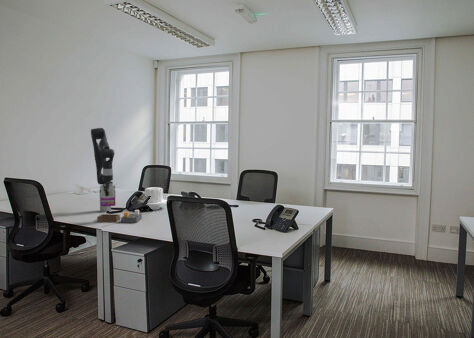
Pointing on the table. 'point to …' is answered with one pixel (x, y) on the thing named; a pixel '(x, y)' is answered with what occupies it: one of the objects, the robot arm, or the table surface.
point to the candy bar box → (111, 197)
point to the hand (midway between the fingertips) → (108, 195)
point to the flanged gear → (155, 197)
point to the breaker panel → (131, 218)
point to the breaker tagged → (126, 214)
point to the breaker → (136, 212)
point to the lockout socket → (108, 218)
